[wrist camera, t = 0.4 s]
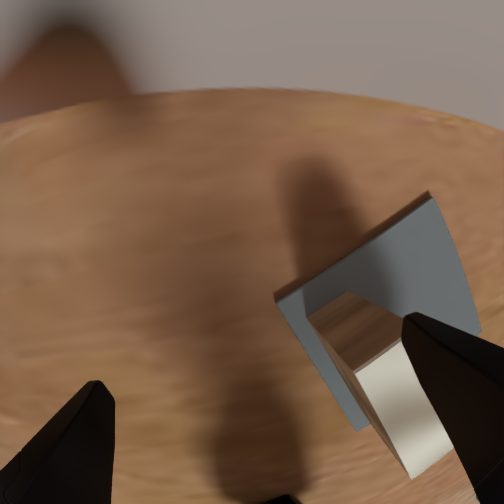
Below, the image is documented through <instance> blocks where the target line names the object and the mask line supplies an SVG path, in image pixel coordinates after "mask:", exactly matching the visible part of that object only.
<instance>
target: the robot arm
mask: <svg viewBox="0 0 504 504" xmlns="http://www.w3.org/2000/svg"><path fill="white" fill-rule="evenodd" d="M401 342H402V345H403V347H404V349H405V351H406V354H407V356H408V358H409V360H410V362H411V365H412V367H413V369H414V372H415V374H416V376H417V379H418V381H419V383H420V385H421V387H422V389H423V391H424V392H425V394H426V396H427V398H428V400H429V401H430V403H431V405H432V407H433V409H434V410H435V412H436V414H437V416H438V418H439V420H440V421H441V423H442V425H443V427H444V429H445V431H446V433H447V435H448V437H449V439H450V441H451V443H452V444H453V446H454V448H455V450H456V452H457V454H458V456H459V459H460V461H461V463H462V465H463V467H464V469H465V471H466V473H467V475H468V477H469V480H470V482H471V484H472V486H473V488H474V491H475V493H476V495H477V498H478V500H479V502H480V504H504V348H503V347H500V346H498V345H495V344H493V343H491V342H488V341H486V340H484V339H481V338H479V337H477V336H474V335H472V334H469V333H467V332H465V331H462V330H460V329H458V328H455V327H453V326H450V325H448V324H446V323H443V322H441V321H439V320H436V319H434V318H431V317H429V316H427V315H424V314H422V313H419V312H412V313H410V314H407V315H405V316H404V318H403V323H402V331H401ZM114 450H115V400H114V398H113V396H112V395H111V393H110V392H109V391H108V389H107V388H106V386H105V385H104V384H103V382H101V381H99V380H95V381H89V382H87V383H86V384H85V385H84V386H83V387H82V388H81V389H80V390H79V391H78V392H77V393H76V394H75V395H74V396H73V397H72V398H71V399H70V400H69V401H68V402H67V403H66V404H65V405H64V406H63V407H62V408H61V409H60V410H59V411H58V412H57V413H56V414H55V415H54V416H53V417H52V418H51V419H50V420H49V421H48V422H47V424H46V425H45V426H44V427H43V428H42V429H41V430H40V431H39V432H38V433H37V434H36V435H35V436H34V437H33V438H32V439H31V440H30V441H29V442H28V443H27V444H26V445H25V446H24V447H23V448H22V449H21V451H19V452H18V453H17V455H16V456H15V457H14V458H13V459H12V460H11V461H10V462H9V463H8V464H7V465H6V466H5V467H4V468H3V469H2V470H0V504H111V492H112V475H113V462H114ZM264 504H299V503H298V502H296V501H295V500H294V499H293V498H292V497H291V496H289V495H284V496H282V497H279V498H277V499H274V500H272V501H269V502H266V503H264Z"/></svg>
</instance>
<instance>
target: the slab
mask: <svg viewBox="0 0 504 504" xmlns="http://www.w3.org/2000/svg"><path fill="white" fill-rule="evenodd" d="M307 320H308V322H309V323H310V325H311V327H312V328H313V330H314V332H315V333H316V335H317V337H318V338H319V340H320V342H321V344H322V345H323V347H324V349H325V350H326V352H327V354H328V355H329V357H330V359H331V360H332V362H333V364H334V365H335V367H336V369H337V370H338V372H339V374H340V376H341V377H342V379H343V381H344V382H345V384H346V386H347V387H348V389H349V391H350V393H351V394H352V396H353V398H354V399H355V401H356V403H357V405H358V406H359V408H360V410H361V411H362V413H363V414H364V415H365V417H366V418H367V419H368V421H369V422H370V424H371V425H372V426H373V428H374V429H375V430H376V432H377V433H378V434H379V436H380V437H381V439H382V440H383V441H384V443H385V444H386V445H387V447H388V448H389V449H390V451H391V452H392V454H393V455H394V456H395V458H396V459H397V460H398V462H399V463H400V464H401V466H402V467H403V469H404V470H405V471H406V473H407V474H408V475H409V477H410V478H411V479H413V478H415V477H416V476H418V475H419V474H421V473H422V472H423V471H425V470H426V469H428V468H429V467H430V466H432V465H433V464H434V463H436V462H437V461H438V460H439V459H441V458H442V457H443V456H444V455H446V454H447V453H448V452H449V451H451V450H452V449H453V448H454V446H453V444H452V443H451V441H450V439H449V437H448V435H447V433H446V431H445V429H444V427H443V425H442V423H441V421H440V420H439V418H438V416H437V414H436V412H435V410H434V409H433V407H432V405H431V403H430V401H429V400H428V398H427V396H426V394H425V392H424V391H423V389H422V387H421V385H420V383H419V381H418V379H417V376H416V374H415V372H414V369H413V367H412V365H411V362H410V360H409V358H408V356H407V354H406V351H405V349H404V347H403V345H402V342H401V331H402V323H403V318H401V317H399V316H397V315H395V314H393V313H391V312H389V311H387V310H385V309H383V308H381V307H379V306H377V305H375V304H373V303H371V302H369V301H367V300H365V299H363V298H361V297H359V296H357V295H355V294H353V293H351V292H349V291H346V292H345V293H343V294H342V295H340V296H339V297H337V298H336V299H334V300H333V301H331V302H330V303H328V304H327V305H325V306H324V307H322V308H321V309H319V310H318V311H316V312H314V313H313V314H311V315H310V316H308V317H307Z"/></svg>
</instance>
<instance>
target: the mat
mask: <svg viewBox="0 0 504 504" xmlns="http://www.w3.org/2000/svg"><path fill="white" fill-rule="evenodd" d="M346 291H349V292H351V293H353V294H355V295H357V296H359V297H361V298H363V299H365V300H367V301H369V302H371V303H373V304H375V305H377V306H379V307H381V308H383V309H385V310H387V311H389V312H391V313H393V314H395V315H397V316H399V317H401V318H404V316H405V315H407V314H410V313H412V312H419V313H422V314H424V315H427V316H429V317H431V318H434V319H436V320H439V321H441V322H443V323H446V324H448V325H450V326H453V327H455V328H458V329H460V330H462V331H465V332H467V333H469V334H472V335H474V336H478V335H479V334H480V333H481V332H482V331H481V327H480V323H479V319H478V315H477V311H476V308H475V304H474V301H473V298H472V294H471V291H470V288H469V285H468V281H467V278H466V275H465V272H464V270H463V267H462V264H461V261H460V258H459V256H458V253H457V250H456V248H455V245H454V243H453V240H452V237H451V235H450V233H449V230H448V228H447V225H446V223H445V221H444V218H443V216H442V214H441V212H440V209H439V207H438V205H437V203H436V201H435V199H434V197H430V198H428V199H427V200H426V201H424V202H423V203H422V204H420V205H419V206H418V207H416V208H415V209H413V210H412V211H411V212H409V213H408V214H407V215H405V216H404V217H402V218H401V219H400V220H398V221H397V222H395V223H394V224H393V225H391V226H390V227H388V228H387V229H385V230H384V231H383V232H381V233H380V234H378V235H377V236H375V237H374V238H372V239H371V240H370V241H368V242H367V243H365V244H364V245H362V246H361V247H359V248H358V249H356V250H355V251H353V252H352V253H350V254H349V255H348V256H346V257H345V258H343V259H342V260H340V261H339V262H337V263H336V264H334V265H332V266H331V267H329V268H328V269H326V270H325V271H323V272H322V273H320V274H319V275H317V276H316V277H314V278H313V279H311V280H309V281H308V282H306V283H305V284H303V285H302V286H300V287H298V288H297V289H295V290H294V291H292V292H291V293H289V294H287V295H286V296H284V297H283V298H281V299H279V300H278V301H276V302H275V303H276V304H277V306H278V308H279V309H280V311H281V312H282V314H283V316H284V317H285V319H286V320H287V322H288V324H289V325H290V327H291V328H292V330H293V332H294V333H295V335H296V337H297V338H298V340H299V341H300V343H301V345H302V346H303V348H304V349H305V351H306V352H307V354H308V356H309V357H310V359H311V360H312V362H313V364H314V365H315V367H316V368H317V370H318V372H319V373H320V375H321V376H322V378H323V380H324V381H325V383H326V384H327V386H328V388H329V389H330V391H331V392H332V394H333V395H334V397H335V399H336V400H337V402H338V403H339V405H340V407H341V408H342V410H343V411H344V413H345V414H346V416H347V418H348V419H349V421H350V422H351V424H352V426H353V427H354V429H355V430H356V432H358V431H360V430H361V429H363V428H364V427H366V426H368V425H369V424H370V422H369V421H368V419H367V418H366V417H365V415H364V414H363V413H362V411H361V410H360V408H359V406H358V405H357V403H356V401H355V399H354V398H353V396H352V394H351V393H350V391H349V389H348V387H347V386H346V384H345V382H344V381H343V379H342V377H341V376H340V374H339V372H338V370H337V369H336V367H335V365H334V364H333V362H332V360H331V359H330V357H329V355H328V354H327V352H326V350H325V349H324V347H323V345H322V344H321V342H320V340H319V338H318V337H317V335H316V333H315V332H314V330H313V328H312V327H311V325H310V323H309V322H308V320H307V317H308V316H310V315H311V314H313V313H314V312H316V311H318V310H319V309H321V308H322V307H324V306H325V305H327V304H328V303H330V302H331V301H333V300H334V299H336V298H337V297H339V296H340V295H342V294H343V293H345V292H346Z"/></svg>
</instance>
